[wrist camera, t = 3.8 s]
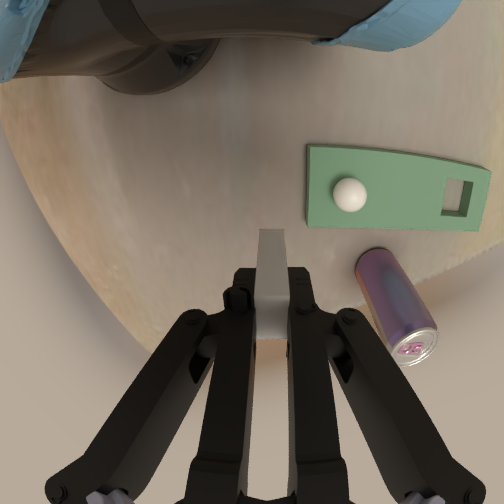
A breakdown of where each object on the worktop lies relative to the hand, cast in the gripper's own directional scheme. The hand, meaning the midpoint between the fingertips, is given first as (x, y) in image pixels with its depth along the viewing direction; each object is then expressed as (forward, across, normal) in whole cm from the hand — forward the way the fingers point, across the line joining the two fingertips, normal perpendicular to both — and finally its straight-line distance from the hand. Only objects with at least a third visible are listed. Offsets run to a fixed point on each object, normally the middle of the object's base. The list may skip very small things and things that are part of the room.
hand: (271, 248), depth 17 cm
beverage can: (+14, +14, -11) cm, 23 cm away
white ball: (+10, +8, 0) cm, 13 cm away
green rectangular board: (+14, +17, 0) cm, 22 cm away
